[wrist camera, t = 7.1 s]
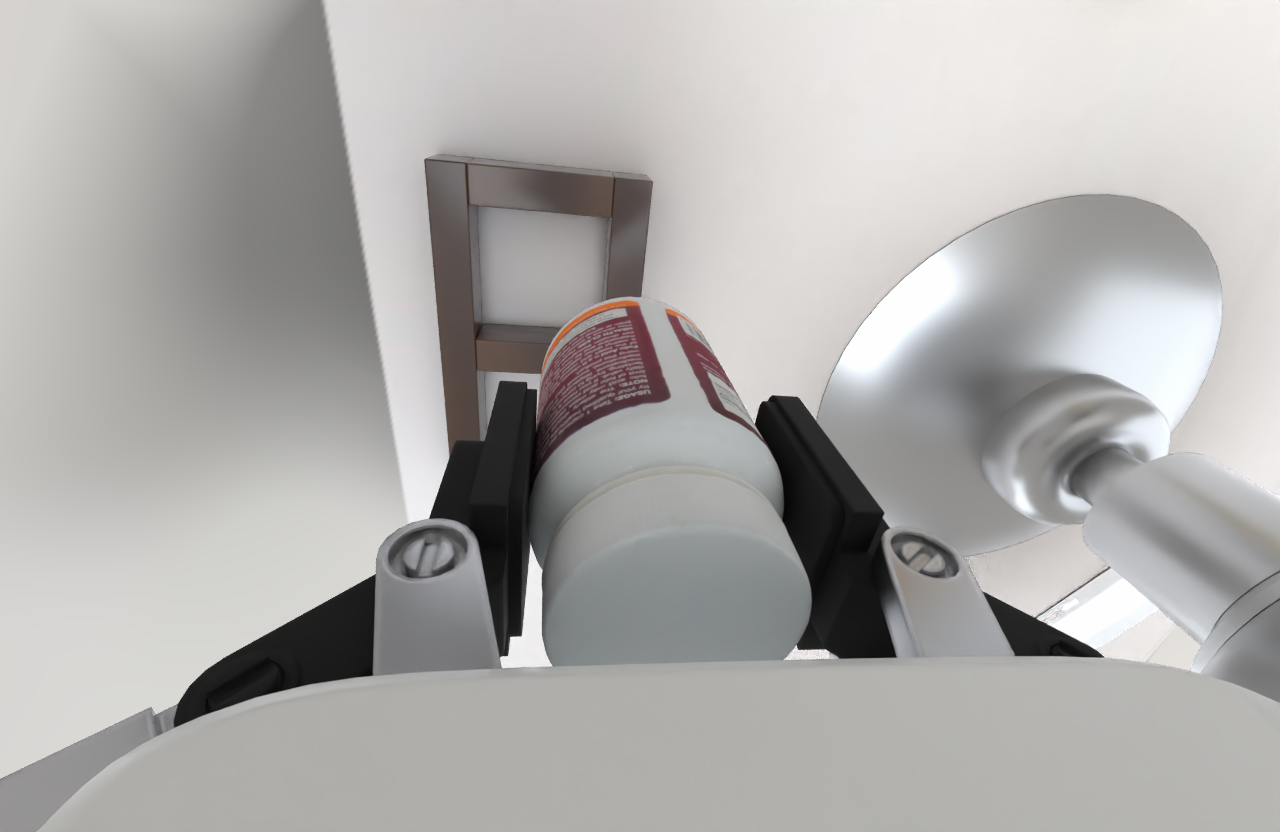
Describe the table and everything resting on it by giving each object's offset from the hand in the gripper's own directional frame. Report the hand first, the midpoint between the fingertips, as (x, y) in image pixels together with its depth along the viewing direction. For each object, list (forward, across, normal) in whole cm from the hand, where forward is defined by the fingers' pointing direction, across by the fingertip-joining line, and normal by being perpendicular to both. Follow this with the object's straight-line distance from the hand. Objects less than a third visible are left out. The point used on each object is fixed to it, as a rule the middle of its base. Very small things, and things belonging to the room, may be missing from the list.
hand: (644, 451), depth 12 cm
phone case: (+19, -48, +27) cm, 58 cm away
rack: (+20, +3, +6) cm, 21 cm away
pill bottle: (+4, 0, 0) cm, 4 cm away
